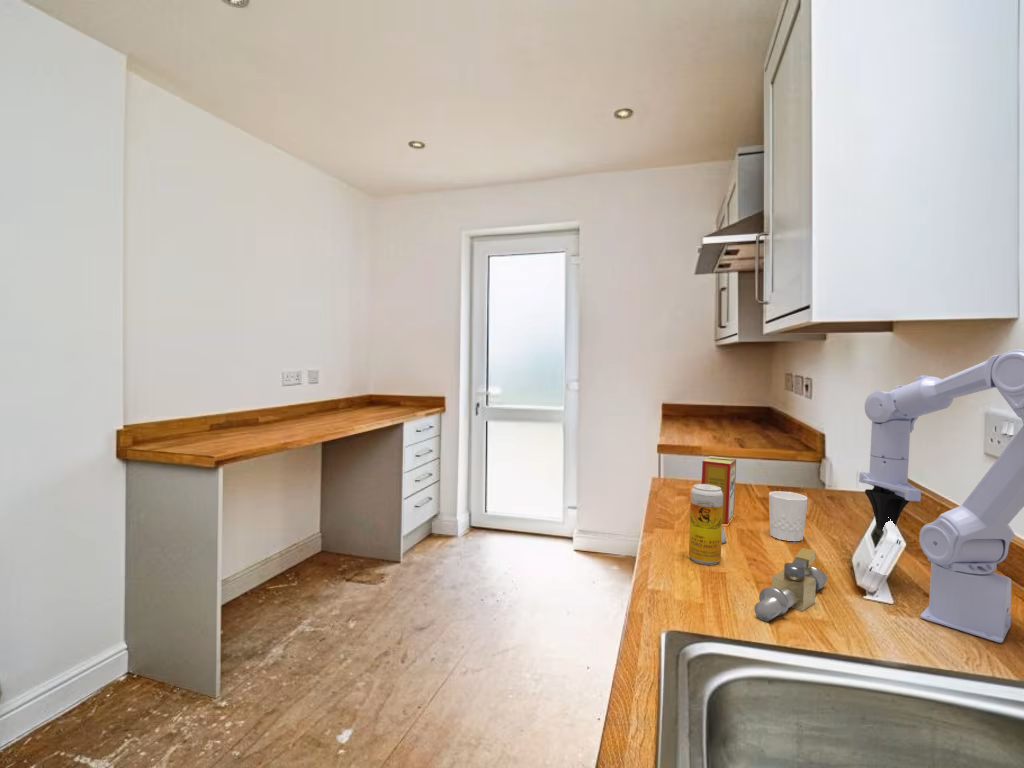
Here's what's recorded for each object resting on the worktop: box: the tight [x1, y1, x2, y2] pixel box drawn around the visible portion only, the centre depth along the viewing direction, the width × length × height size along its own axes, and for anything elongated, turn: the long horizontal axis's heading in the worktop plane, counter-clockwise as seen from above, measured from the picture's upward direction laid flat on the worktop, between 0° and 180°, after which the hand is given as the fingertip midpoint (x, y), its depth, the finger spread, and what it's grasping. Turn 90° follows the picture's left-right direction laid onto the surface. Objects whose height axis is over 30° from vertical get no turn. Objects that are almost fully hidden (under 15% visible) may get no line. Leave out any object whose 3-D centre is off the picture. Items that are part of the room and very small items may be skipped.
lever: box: [783, 547, 816, 580], centre depth 90 cm, size 14×3×2 cm, turn 140°
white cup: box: [768, 490, 808, 541], centre depth 119 cm, size 8×8×10 cm
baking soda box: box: [701, 455, 737, 524], centre depth 132 cm, size 10×6×16 cm
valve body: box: [754, 565, 828, 622], centre depth 86 cm, size 5×22×4 cm, turn 130°
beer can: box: [688, 483, 723, 566], centre depth 104 cm, size 6×6×15 cm
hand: (885, 529), depth 95 cm, fingers closed
